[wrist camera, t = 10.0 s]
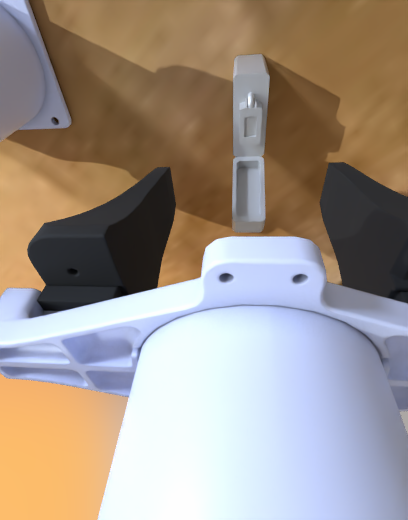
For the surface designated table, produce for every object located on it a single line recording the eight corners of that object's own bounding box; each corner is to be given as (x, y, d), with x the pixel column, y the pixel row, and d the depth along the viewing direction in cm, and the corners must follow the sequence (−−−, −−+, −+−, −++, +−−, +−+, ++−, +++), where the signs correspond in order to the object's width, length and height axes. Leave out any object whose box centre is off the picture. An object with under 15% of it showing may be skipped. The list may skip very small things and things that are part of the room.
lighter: (234, 55, 17) (231, 99, 12) (264, 54, 17) (276, 96, 11) (234, 169, 22) (231, 238, 17) (257, 168, 22) (263, 238, 16)
